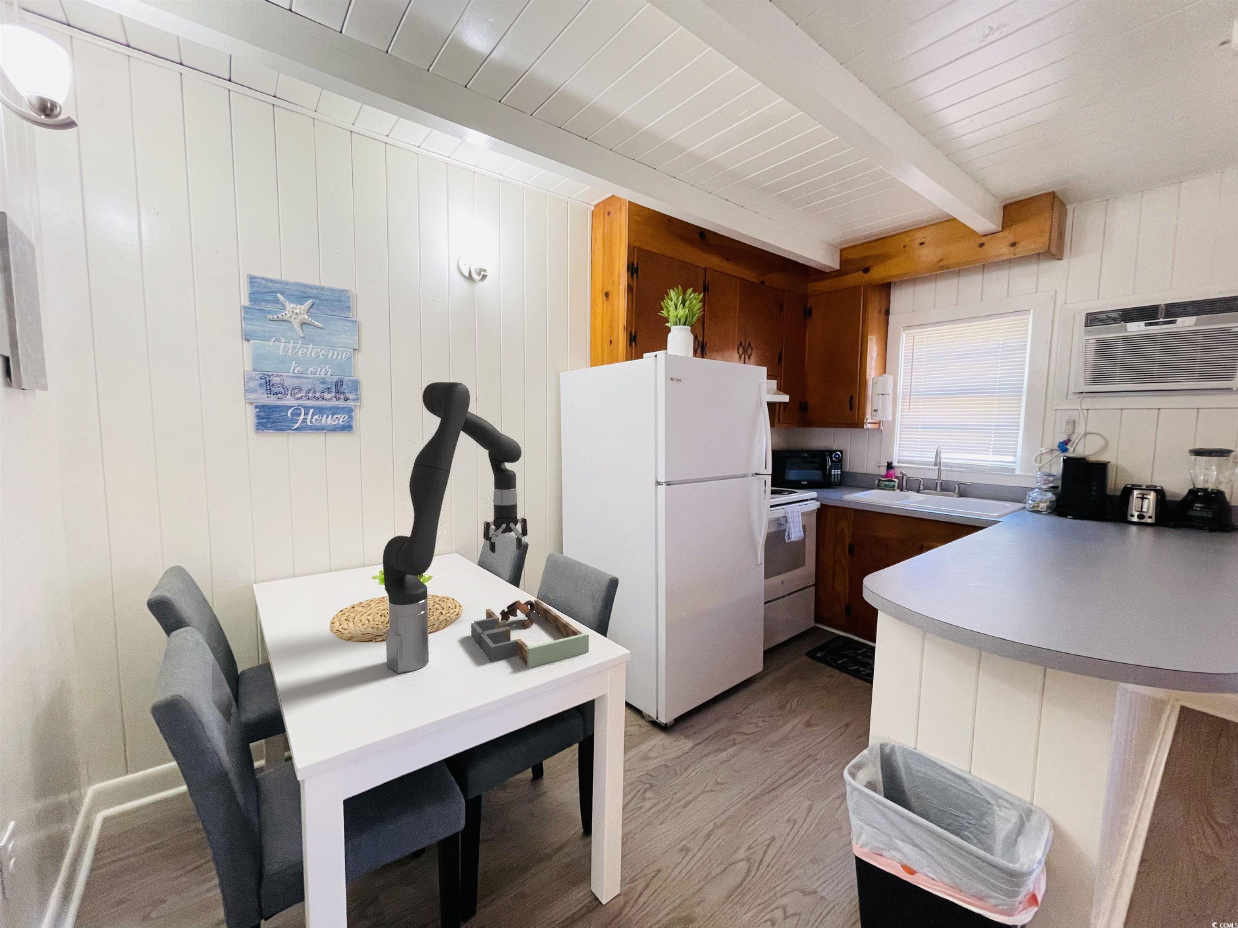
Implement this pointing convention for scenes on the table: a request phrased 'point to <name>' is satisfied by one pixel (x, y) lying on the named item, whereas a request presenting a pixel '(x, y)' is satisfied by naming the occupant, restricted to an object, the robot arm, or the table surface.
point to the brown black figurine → (522, 608)
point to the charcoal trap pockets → (493, 640)
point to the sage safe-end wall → (557, 650)
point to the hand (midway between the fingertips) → (505, 550)
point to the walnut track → (548, 616)
